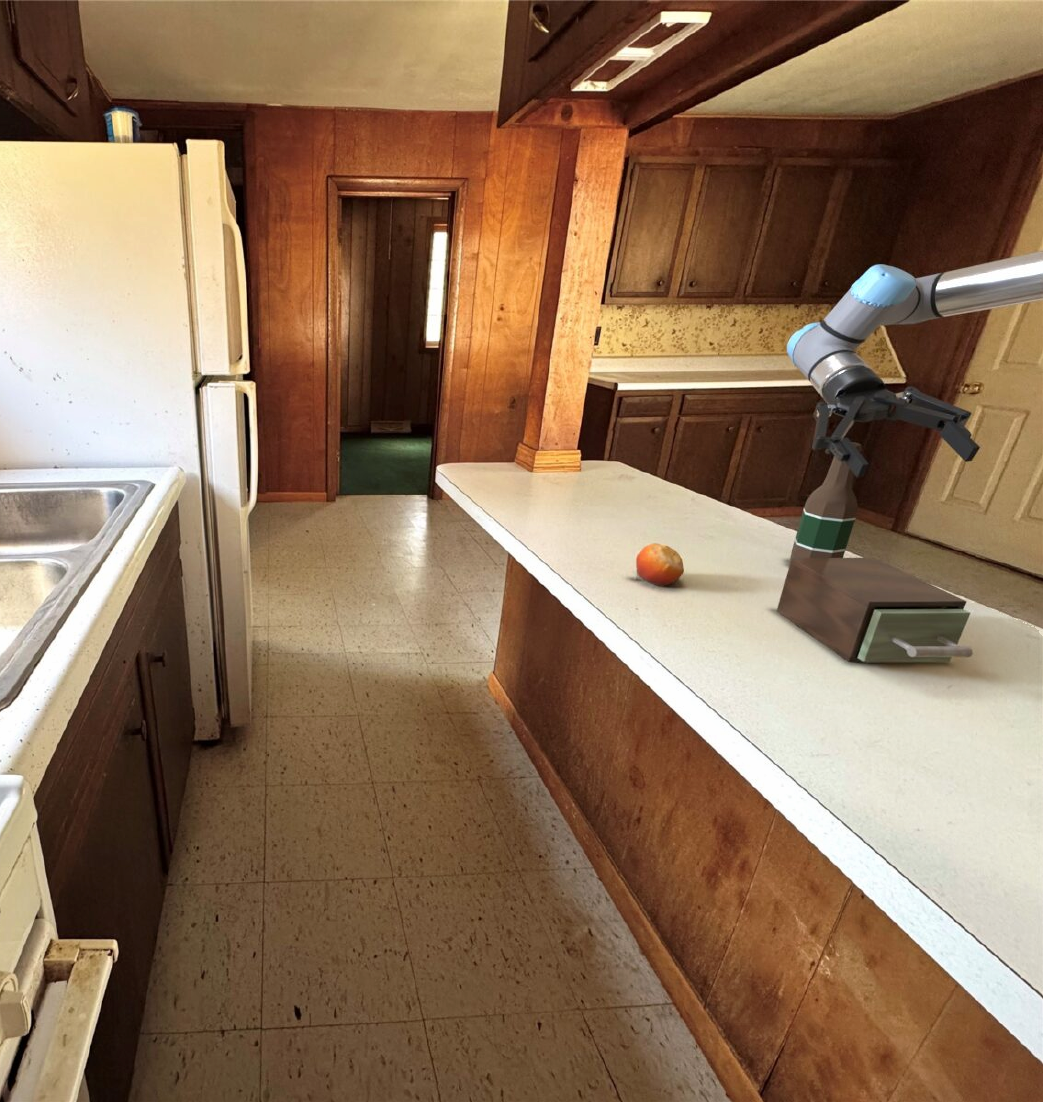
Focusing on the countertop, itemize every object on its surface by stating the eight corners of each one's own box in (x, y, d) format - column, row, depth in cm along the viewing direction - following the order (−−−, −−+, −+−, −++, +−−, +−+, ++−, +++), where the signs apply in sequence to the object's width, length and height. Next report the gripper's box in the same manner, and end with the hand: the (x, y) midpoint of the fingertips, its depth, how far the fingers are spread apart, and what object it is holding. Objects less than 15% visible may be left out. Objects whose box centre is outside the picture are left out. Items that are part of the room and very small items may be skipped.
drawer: (979, 679, 80) (1002, 628, 77) (888, 679, 81) (908, 628, 78) (866, 613, 97) (882, 569, 94) (792, 613, 98) (805, 570, 95)
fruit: (632, 559, 119) (661, 531, 114) (666, 588, 116) (698, 560, 111) (616, 572, 114) (646, 543, 109) (651, 602, 111) (684, 574, 106)
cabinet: (941, 661, 86) (967, 601, 82) (848, 661, 87) (869, 602, 83) (855, 610, 100) (873, 557, 97) (776, 611, 101) (791, 558, 97)
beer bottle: (802, 574, 114) (839, 448, 105) (779, 558, 121) (812, 438, 112) (848, 575, 112) (890, 448, 104) (823, 559, 120) (860, 438, 111)
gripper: (925, 386, 105) (1008, 466, 91) (760, 415, 112) (813, 494, 98) (944, 348, 100) (1035, 427, 86) (769, 381, 107) (826, 459, 93)
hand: (916, 463), depth 92 cm, fingers open, 13 cm apart
